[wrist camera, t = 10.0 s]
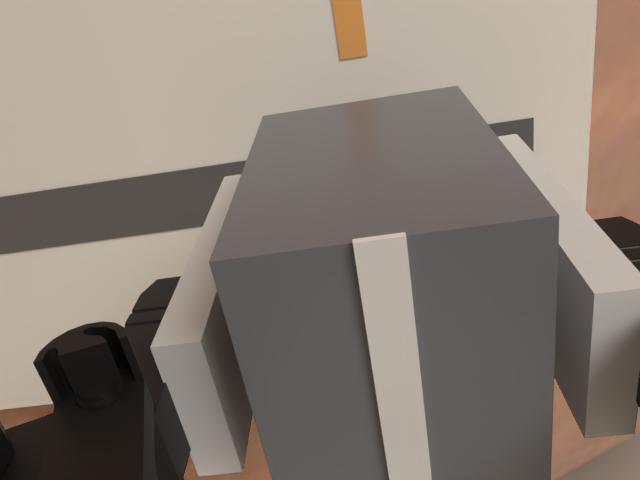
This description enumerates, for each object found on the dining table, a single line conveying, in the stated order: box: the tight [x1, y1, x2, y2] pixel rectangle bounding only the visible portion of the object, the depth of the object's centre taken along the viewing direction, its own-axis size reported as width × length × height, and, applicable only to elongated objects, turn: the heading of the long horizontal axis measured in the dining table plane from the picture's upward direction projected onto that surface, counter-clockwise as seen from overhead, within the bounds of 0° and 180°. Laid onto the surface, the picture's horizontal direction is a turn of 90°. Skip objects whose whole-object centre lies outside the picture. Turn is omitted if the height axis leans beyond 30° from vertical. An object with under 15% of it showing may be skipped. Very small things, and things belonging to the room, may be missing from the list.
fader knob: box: [209, 86, 559, 480], centre depth 12 cm, size 6×4×9 cm, turn 9°
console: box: [0, 0, 597, 410], centre depth 18 cm, size 14×26×3 cm, turn 99°
